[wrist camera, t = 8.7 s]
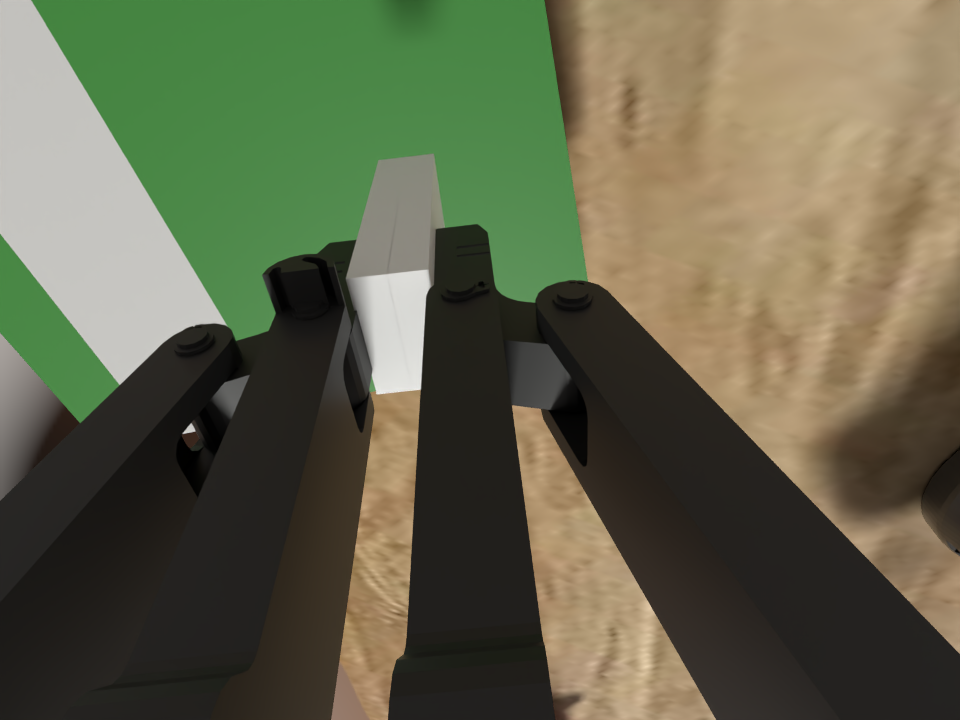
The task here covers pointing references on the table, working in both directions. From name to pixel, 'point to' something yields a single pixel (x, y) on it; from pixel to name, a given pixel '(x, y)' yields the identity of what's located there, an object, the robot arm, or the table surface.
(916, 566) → the table surface
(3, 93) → the hardback book
